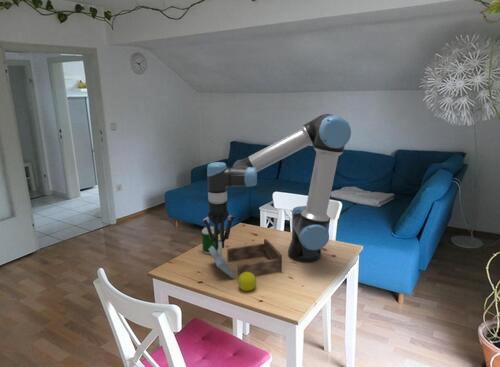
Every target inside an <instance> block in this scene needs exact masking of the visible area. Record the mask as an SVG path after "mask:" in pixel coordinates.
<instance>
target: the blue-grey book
mask: <svg viewBox="0 0 500 367" xmlns="http://www.w3.org/2000/svg"><path fill="white" fill-rule="evenodd" d="M209 251H210V253H211V254H210V255H211V257H212V259H213V262H214V263H215V265H216V267H217V268H218V269H220V270H221V271H222V272H224V273H225V274H226V275H227V276H229V277H230V278H231V279H235V278H236V277H235V275H234V273H233V272H232V269H231V268H230V266H229V264H228V263H227V261H226V259H224V257H223V256H222V257H219V255H218V253H217V252H216V250H215V248H214V247H213V246H211V247H210V248H209Z"/></svg>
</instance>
